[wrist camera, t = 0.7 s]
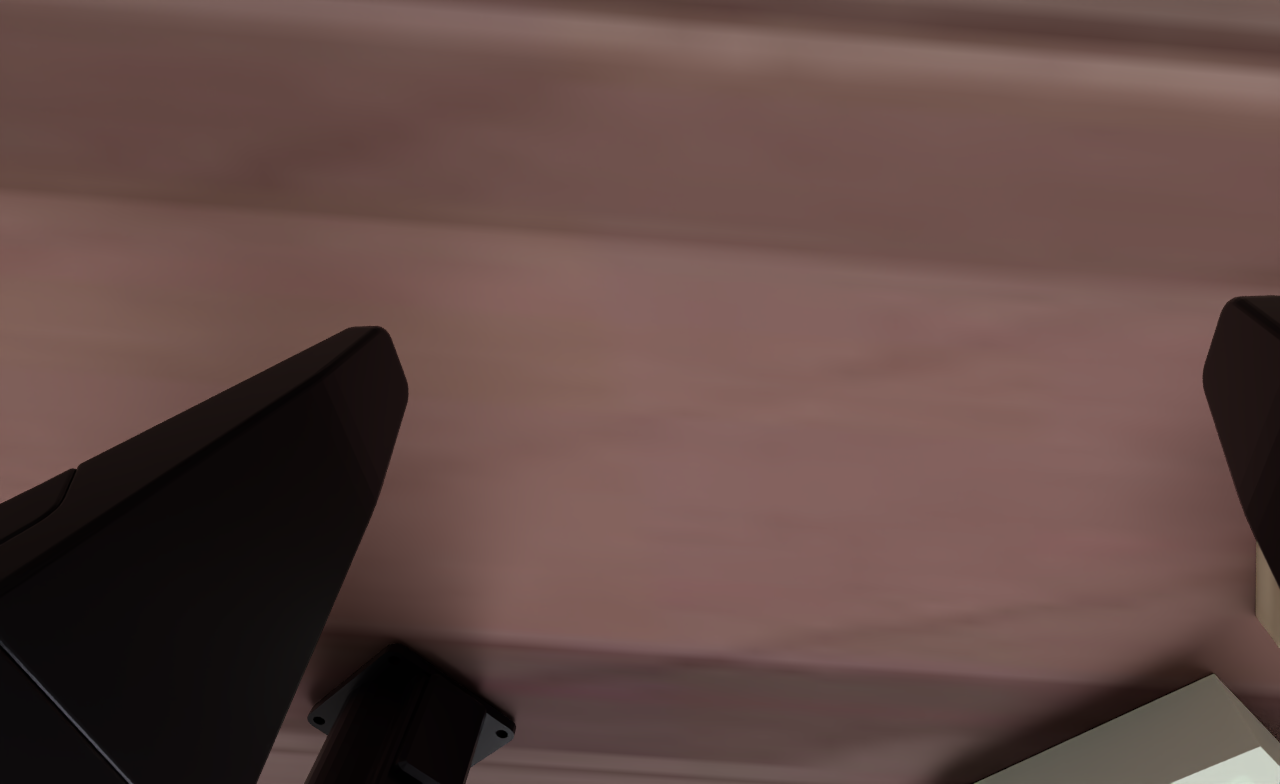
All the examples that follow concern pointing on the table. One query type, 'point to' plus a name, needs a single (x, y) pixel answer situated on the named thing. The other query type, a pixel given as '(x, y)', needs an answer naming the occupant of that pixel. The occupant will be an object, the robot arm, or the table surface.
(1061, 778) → the tray
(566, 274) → the table surface
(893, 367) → the table surface
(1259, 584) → the handle block
